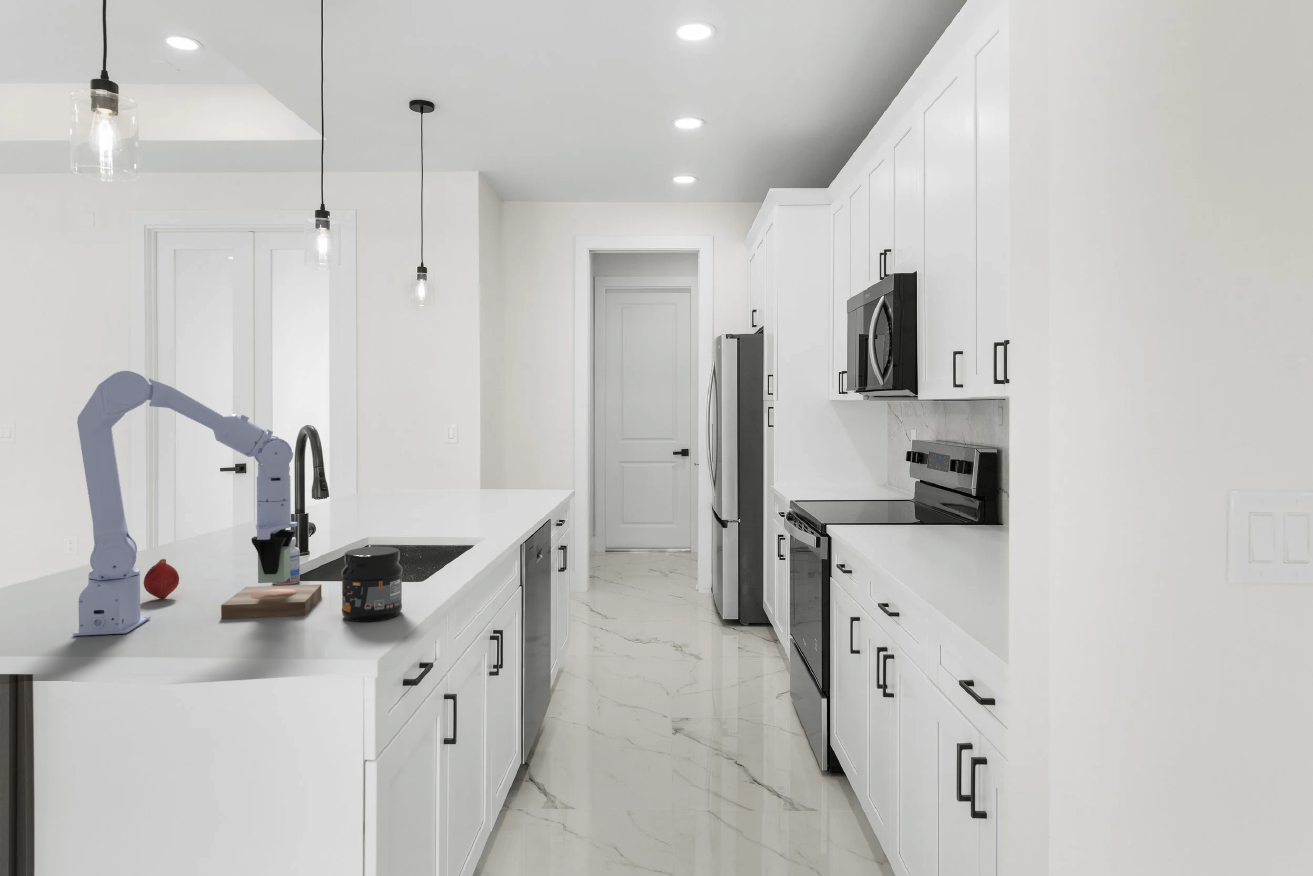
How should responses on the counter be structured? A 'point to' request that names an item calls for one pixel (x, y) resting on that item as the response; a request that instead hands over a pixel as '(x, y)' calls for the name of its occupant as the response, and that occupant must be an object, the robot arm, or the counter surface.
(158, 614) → the counter surface
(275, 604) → the walnut base
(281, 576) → the sage block
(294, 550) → the pill bottle
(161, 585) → the onion
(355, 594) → the supplement container
